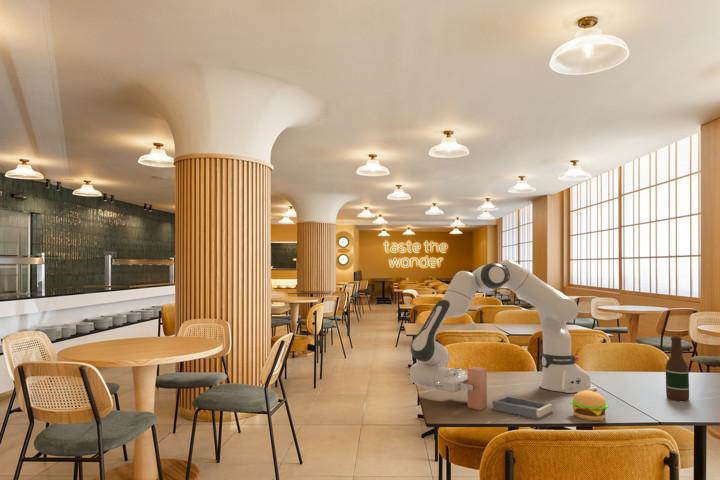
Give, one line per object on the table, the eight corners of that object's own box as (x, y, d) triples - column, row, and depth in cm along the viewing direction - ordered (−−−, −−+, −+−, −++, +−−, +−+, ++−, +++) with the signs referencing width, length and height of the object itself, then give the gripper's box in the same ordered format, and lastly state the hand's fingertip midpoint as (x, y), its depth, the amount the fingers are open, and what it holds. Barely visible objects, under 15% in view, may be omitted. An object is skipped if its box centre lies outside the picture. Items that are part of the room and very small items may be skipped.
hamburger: (613, 416, 177) (612, 390, 178) (603, 424, 168) (602, 397, 169) (577, 409, 185) (576, 385, 186) (565, 417, 176) (565, 391, 176)
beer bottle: (686, 397, 202) (685, 335, 203) (692, 402, 195) (690, 338, 196) (664, 395, 205) (662, 334, 206) (668, 400, 197) (667, 337, 198)
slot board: (492, 409, 185) (492, 401, 185) (506, 403, 193) (506, 395, 193) (540, 419, 173) (539, 410, 173) (552, 412, 181) (552, 404, 181)
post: (467, 407, 188) (467, 368, 189) (474, 404, 192) (474, 366, 192) (480, 409, 185) (479, 370, 185) (486, 407, 188) (486, 368, 189)
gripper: (431, 375, 190) (464, 381, 180) (460, 367, 205) (492, 372, 196) (431, 393, 189) (464, 399, 180) (461, 383, 205) (492, 389, 195)
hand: (479, 385), depth 188 cm, fingers open, 8 cm apart
